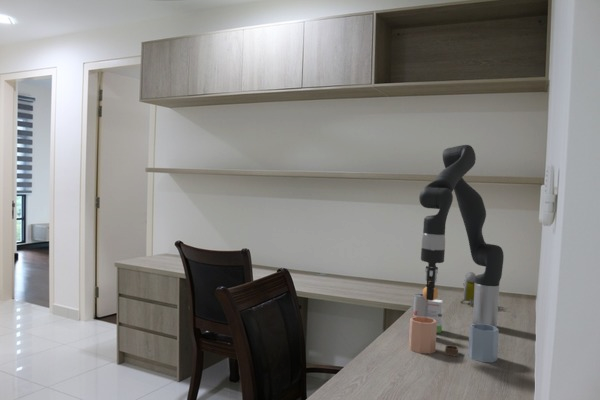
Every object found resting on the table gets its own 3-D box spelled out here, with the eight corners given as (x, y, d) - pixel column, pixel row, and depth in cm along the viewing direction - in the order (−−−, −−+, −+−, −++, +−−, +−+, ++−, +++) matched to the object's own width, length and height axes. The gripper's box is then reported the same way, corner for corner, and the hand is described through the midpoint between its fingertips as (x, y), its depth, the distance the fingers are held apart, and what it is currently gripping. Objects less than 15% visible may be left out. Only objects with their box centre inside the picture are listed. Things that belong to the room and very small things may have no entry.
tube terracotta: (417, 343, 172) (419, 315, 172) (439, 350, 166) (440, 320, 166) (404, 348, 166) (406, 319, 166) (426, 355, 160) (427, 324, 160)
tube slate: (476, 351, 166) (477, 322, 166) (500, 358, 160) (502, 328, 160) (464, 356, 160) (466, 326, 160) (489, 364, 154) (490, 332, 154)
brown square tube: (445, 350, 166) (445, 344, 166) (457, 352, 164) (458, 346, 164) (445, 354, 162) (445, 348, 162) (457, 356, 161) (458, 350, 161)
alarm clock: (475, 307, 230) (477, 275, 229) (460, 305, 232) (461, 273, 232) (474, 301, 241) (476, 271, 241) (460, 300, 243) (461, 270, 243)
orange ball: (427, 298, 168) (428, 283, 168) (440, 301, 164) (441, 286, 164) (419, 300, 164) (420, 285, 164) (432, 303, 161) (433, 287, 161)
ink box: (442, 330, 190) (443, 299, 190) (440, 333, 185) (442, 302, 185) (419, 326, 193) (421, 297, 193) (417, 330, 189) (419, 299, 188)
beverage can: (416, 331, 186) (418, 292, 185) (428, 335, 183) (430, 294, 182) (409, 334, 182) (411, 294, 181) (422, 338, 179) (424, 297, 178)
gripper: (422, 244, 172) (419, 292, 172) (420, 248, 158) (417, 301, 159) (444, 246, 170) (441, 295, 170) (444, 250, 156) (441, 304, 156)
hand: (430, 297), depth 164 cm, fingers closed on orange ball, 5 cm apart
